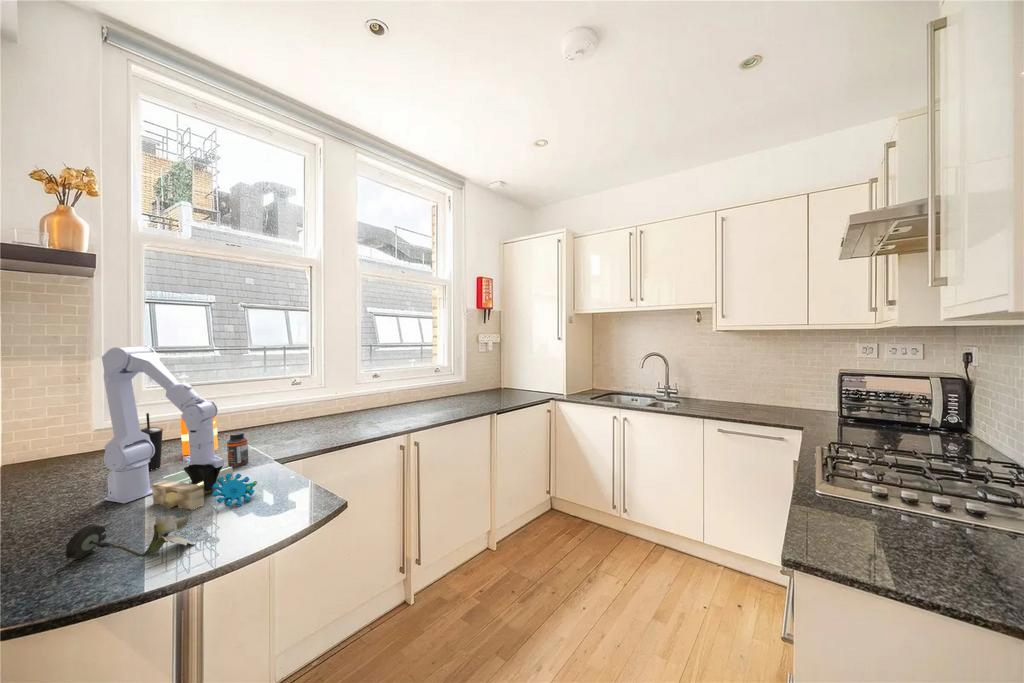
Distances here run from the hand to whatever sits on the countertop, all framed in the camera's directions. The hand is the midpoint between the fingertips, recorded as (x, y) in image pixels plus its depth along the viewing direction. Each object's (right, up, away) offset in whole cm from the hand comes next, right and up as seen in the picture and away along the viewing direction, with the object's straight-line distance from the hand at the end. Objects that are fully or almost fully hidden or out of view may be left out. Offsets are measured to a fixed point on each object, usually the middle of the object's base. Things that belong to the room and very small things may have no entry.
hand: (204, 489), depth 111 cm
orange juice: (-35, -2, +42) cm, 55 cm away
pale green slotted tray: (-9, -2, +8) cm, 12 cm away
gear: (+14, -1, -6) cm, 15 cm away
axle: (-1, 0, -3) cm, 3 cm away
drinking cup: (-38, -2, +24) cm, 45 cm away
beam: (-2, -2, -6) cm, 7 cm away
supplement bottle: (-8, -1, +25) cm, 27 cm away
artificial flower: (+9, -3, -29) cm, 30 cm away
